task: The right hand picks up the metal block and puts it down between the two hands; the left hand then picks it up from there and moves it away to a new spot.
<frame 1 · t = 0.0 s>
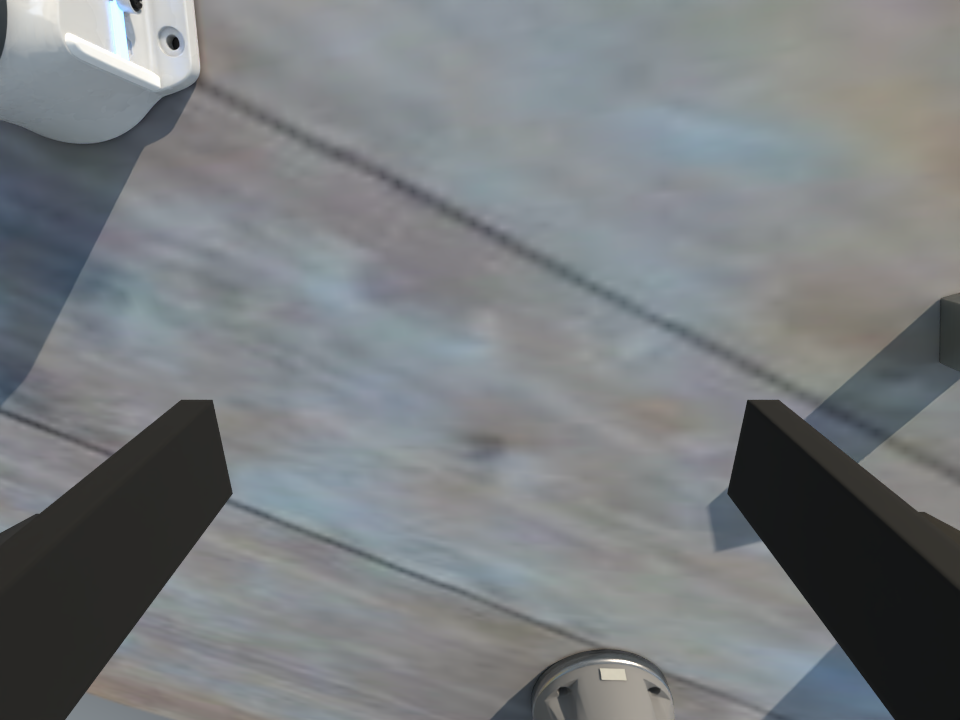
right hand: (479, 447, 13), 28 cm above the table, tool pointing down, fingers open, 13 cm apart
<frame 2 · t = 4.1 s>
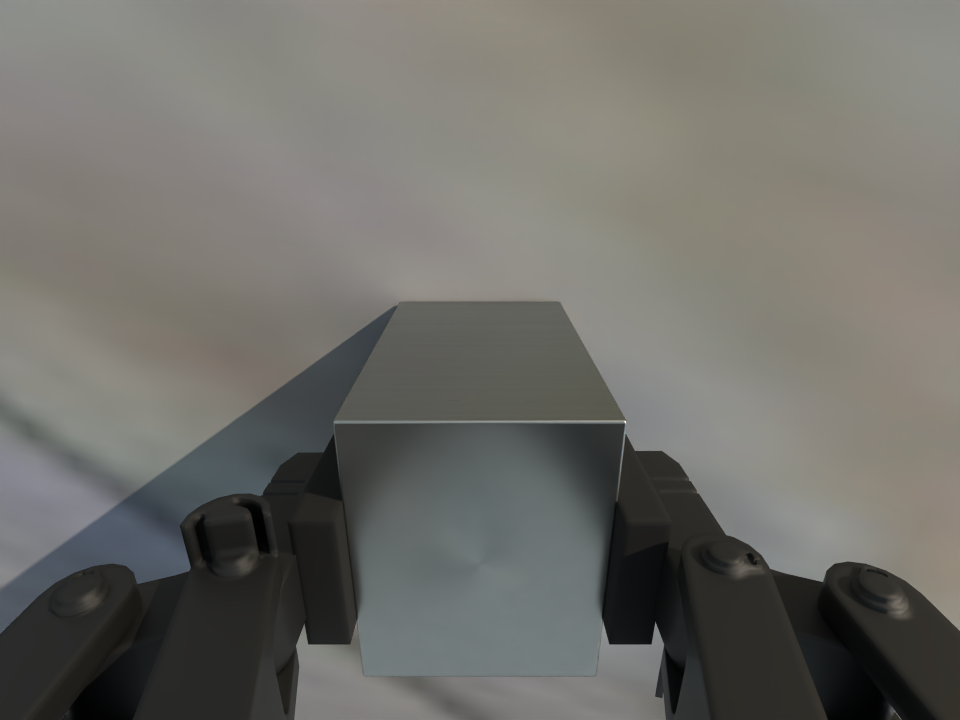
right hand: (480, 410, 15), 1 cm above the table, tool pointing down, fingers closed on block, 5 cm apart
block: (479, 391, 16), on the table, touching right hand
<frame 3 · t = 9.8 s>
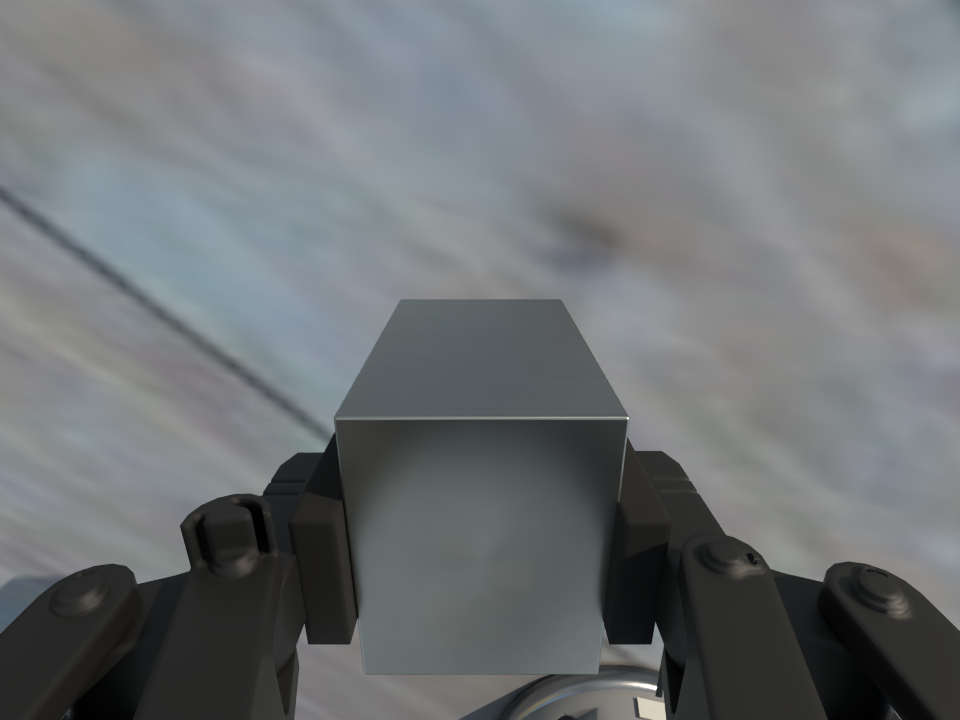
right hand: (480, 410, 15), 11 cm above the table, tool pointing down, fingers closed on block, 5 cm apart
block: (480, 389, 16), point 9 cm above the table, touching right hand
when the right hand's fingers open (3 cm above the table, at t = 15.6 s): block drops 2 cm, on the table.
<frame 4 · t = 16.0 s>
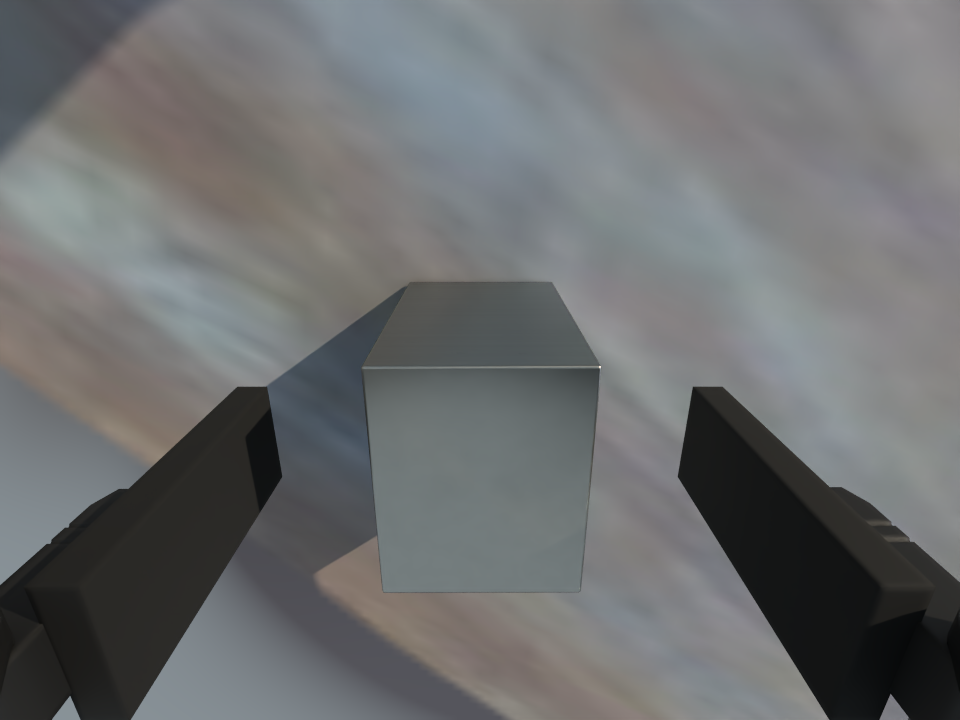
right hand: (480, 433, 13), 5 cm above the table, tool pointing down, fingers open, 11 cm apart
block: (480, 363, 18), on the table
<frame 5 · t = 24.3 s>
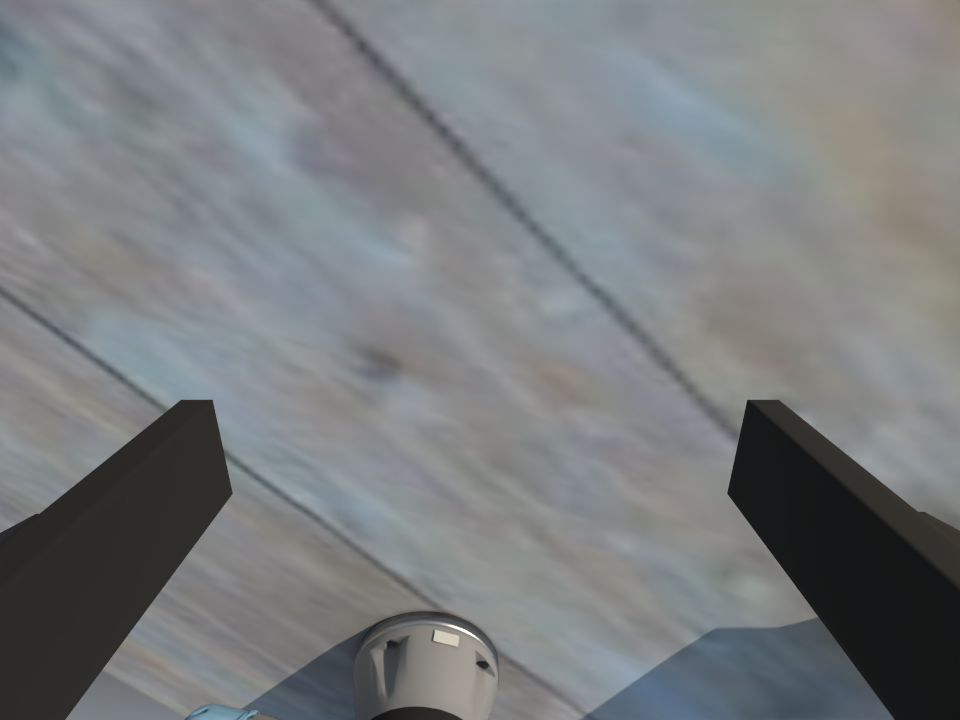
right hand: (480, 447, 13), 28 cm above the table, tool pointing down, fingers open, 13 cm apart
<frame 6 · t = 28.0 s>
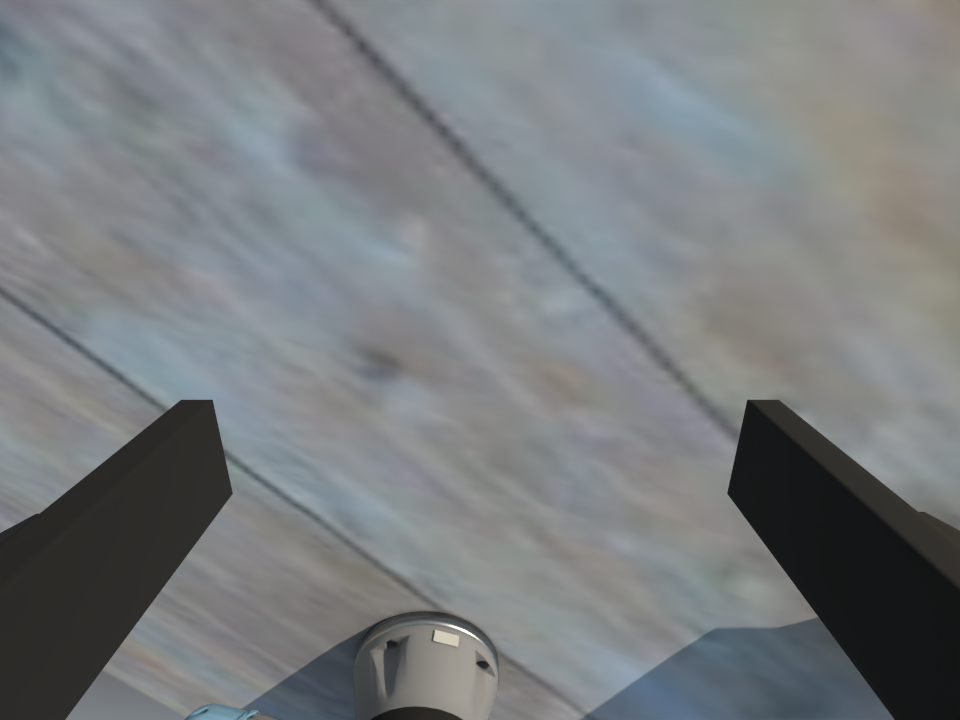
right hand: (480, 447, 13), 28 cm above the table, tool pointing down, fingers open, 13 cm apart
when the left hand's fingers open (6 cm above the table, at t = 31.5 s): block drops 2 cm, on the table.
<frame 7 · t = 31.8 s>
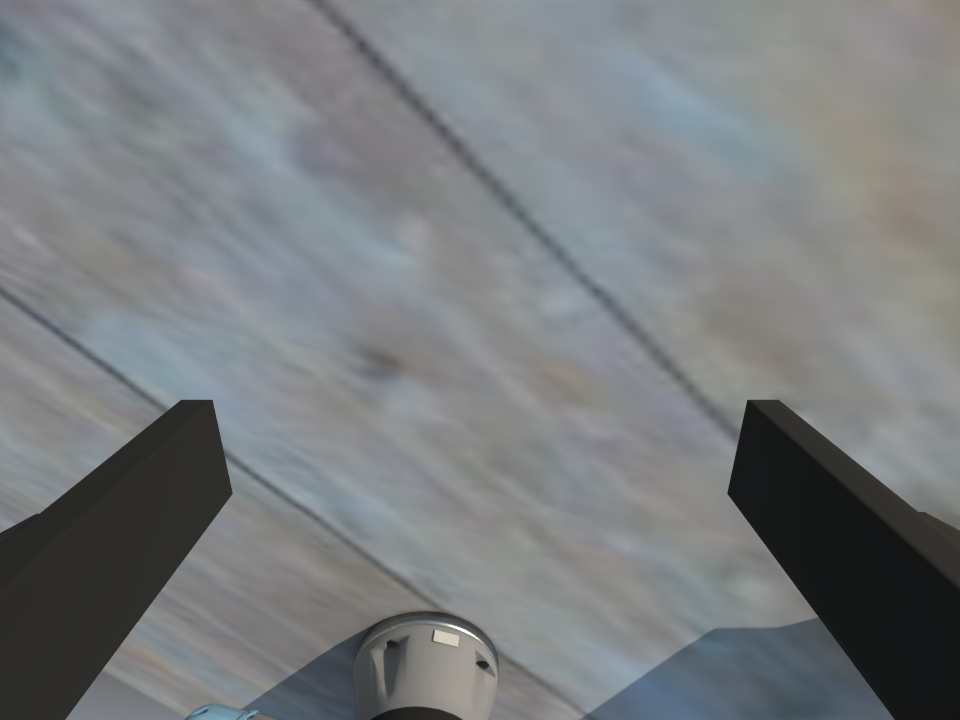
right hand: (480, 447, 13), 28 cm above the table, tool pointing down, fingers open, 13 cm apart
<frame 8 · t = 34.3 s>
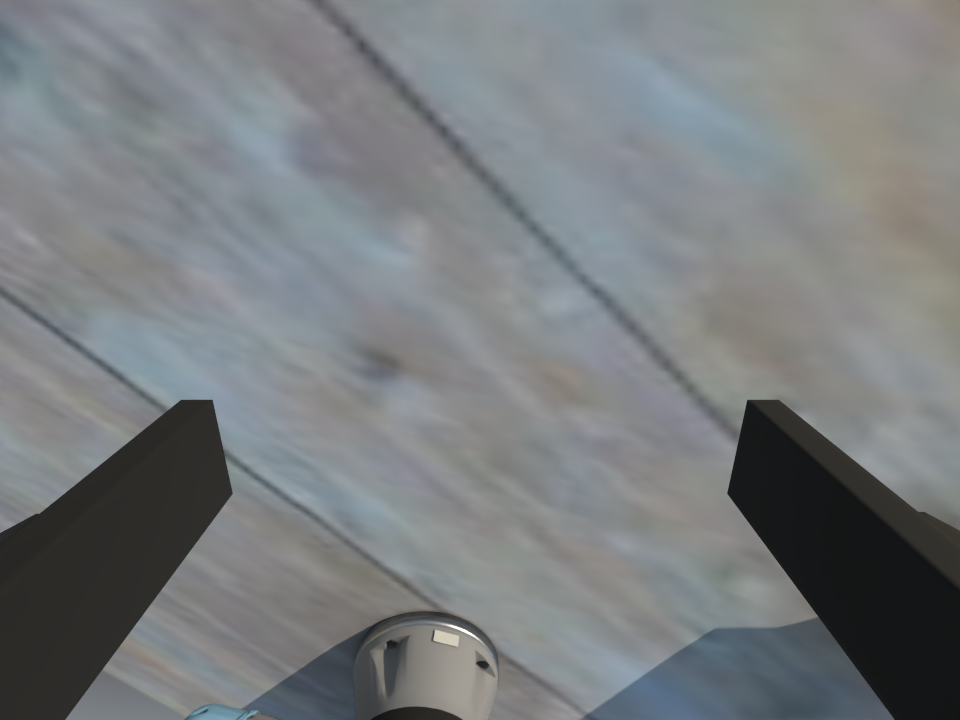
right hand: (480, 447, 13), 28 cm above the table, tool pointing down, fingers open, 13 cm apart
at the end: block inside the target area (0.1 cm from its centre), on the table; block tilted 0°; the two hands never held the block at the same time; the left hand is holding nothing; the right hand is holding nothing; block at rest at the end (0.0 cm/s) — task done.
